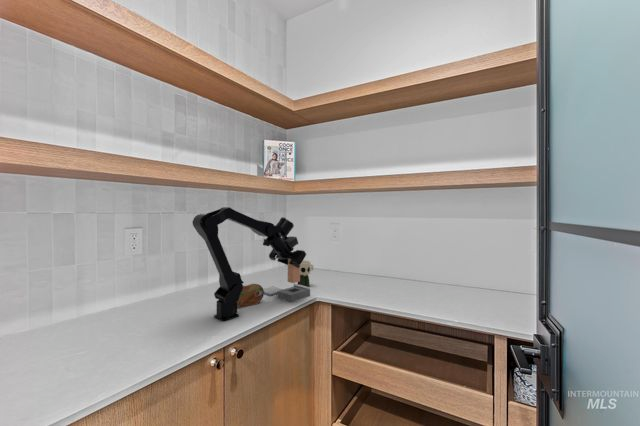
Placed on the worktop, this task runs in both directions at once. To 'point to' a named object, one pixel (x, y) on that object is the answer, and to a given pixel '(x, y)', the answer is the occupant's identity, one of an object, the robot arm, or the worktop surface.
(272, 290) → the mat
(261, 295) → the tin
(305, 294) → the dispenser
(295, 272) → the tan rectangular block
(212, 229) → the robot arm
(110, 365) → the worktop surface
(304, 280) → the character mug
